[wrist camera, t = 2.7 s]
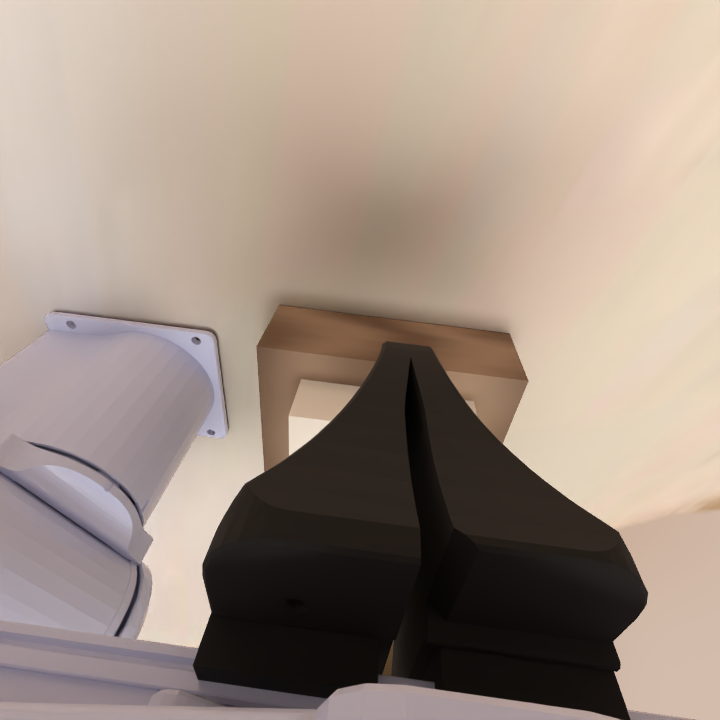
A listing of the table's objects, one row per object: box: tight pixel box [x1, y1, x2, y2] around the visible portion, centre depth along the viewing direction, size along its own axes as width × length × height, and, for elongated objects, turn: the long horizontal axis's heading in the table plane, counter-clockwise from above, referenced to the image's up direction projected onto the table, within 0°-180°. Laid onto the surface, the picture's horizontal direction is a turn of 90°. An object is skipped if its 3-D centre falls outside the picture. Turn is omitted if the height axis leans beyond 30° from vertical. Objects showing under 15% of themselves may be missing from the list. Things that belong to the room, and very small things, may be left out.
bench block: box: [257, 305, 528, 471], centre depth 23 cm, size 12×12×4 cm
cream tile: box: [289, 379, 477, 456], centre depth 19 cm, size 8×4×2 cm, turn 85°
